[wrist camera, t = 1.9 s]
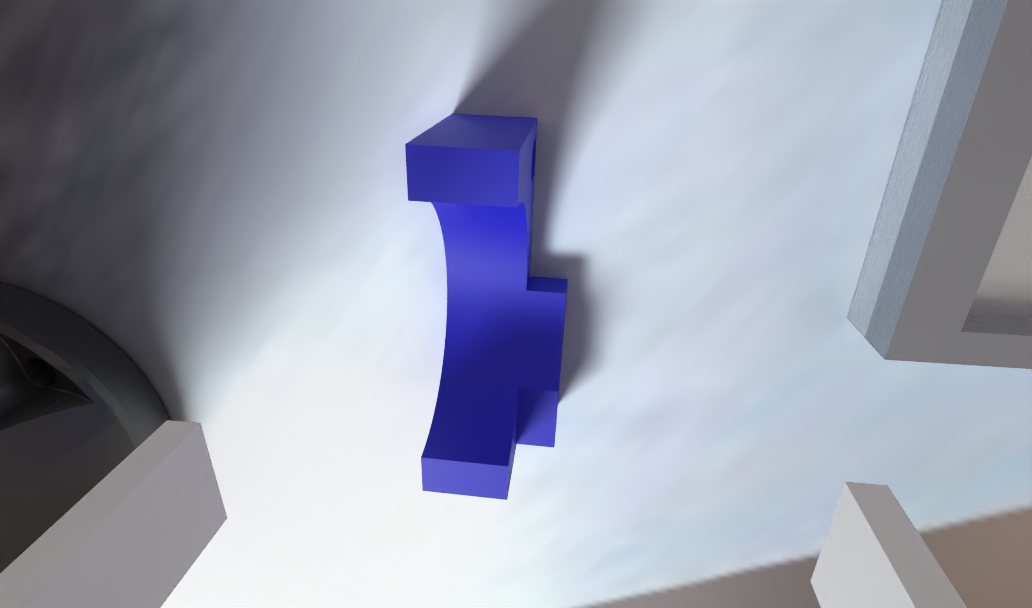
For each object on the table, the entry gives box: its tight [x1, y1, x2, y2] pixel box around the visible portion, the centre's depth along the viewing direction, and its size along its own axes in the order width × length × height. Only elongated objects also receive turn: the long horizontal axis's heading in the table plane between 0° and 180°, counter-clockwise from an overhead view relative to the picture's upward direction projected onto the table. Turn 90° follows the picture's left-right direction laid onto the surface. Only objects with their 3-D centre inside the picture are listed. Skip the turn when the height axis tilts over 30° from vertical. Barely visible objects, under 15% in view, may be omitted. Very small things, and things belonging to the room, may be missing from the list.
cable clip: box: [405, 114, 568, 500], centre depth 20 cm, size 12×4×6 cm, turn 178°
